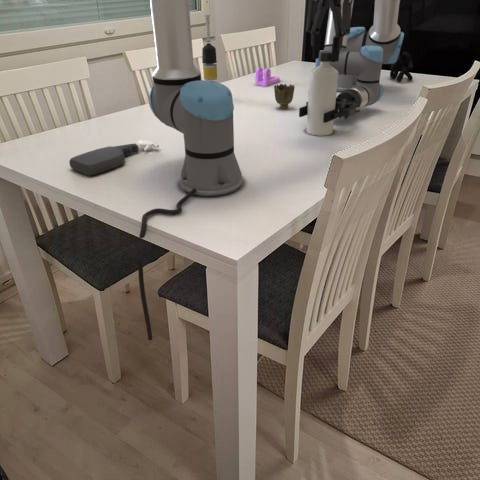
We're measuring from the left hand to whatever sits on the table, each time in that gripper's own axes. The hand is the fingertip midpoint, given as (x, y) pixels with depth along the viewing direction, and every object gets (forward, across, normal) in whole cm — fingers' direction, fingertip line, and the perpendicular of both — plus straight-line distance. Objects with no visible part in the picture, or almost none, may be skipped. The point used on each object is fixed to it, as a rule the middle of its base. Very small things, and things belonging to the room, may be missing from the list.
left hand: (325, 59), depth 131 cm
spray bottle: (+22, -28, -57) cm, 67 cm away
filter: (+22, -56, +4) cm, 60 cm away
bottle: (+22, 0, 0) cm, 22 cm away
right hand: (+15, 0, -5) cm, 16 cm away
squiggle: (+22, -15, +82) cm, 86 cm away
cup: (+22, -25, +12) cm, 36 cm away
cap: (-2, 0, 0) cm, 2 cm away
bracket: (+22, -57, +40) cm, 72 cm away
